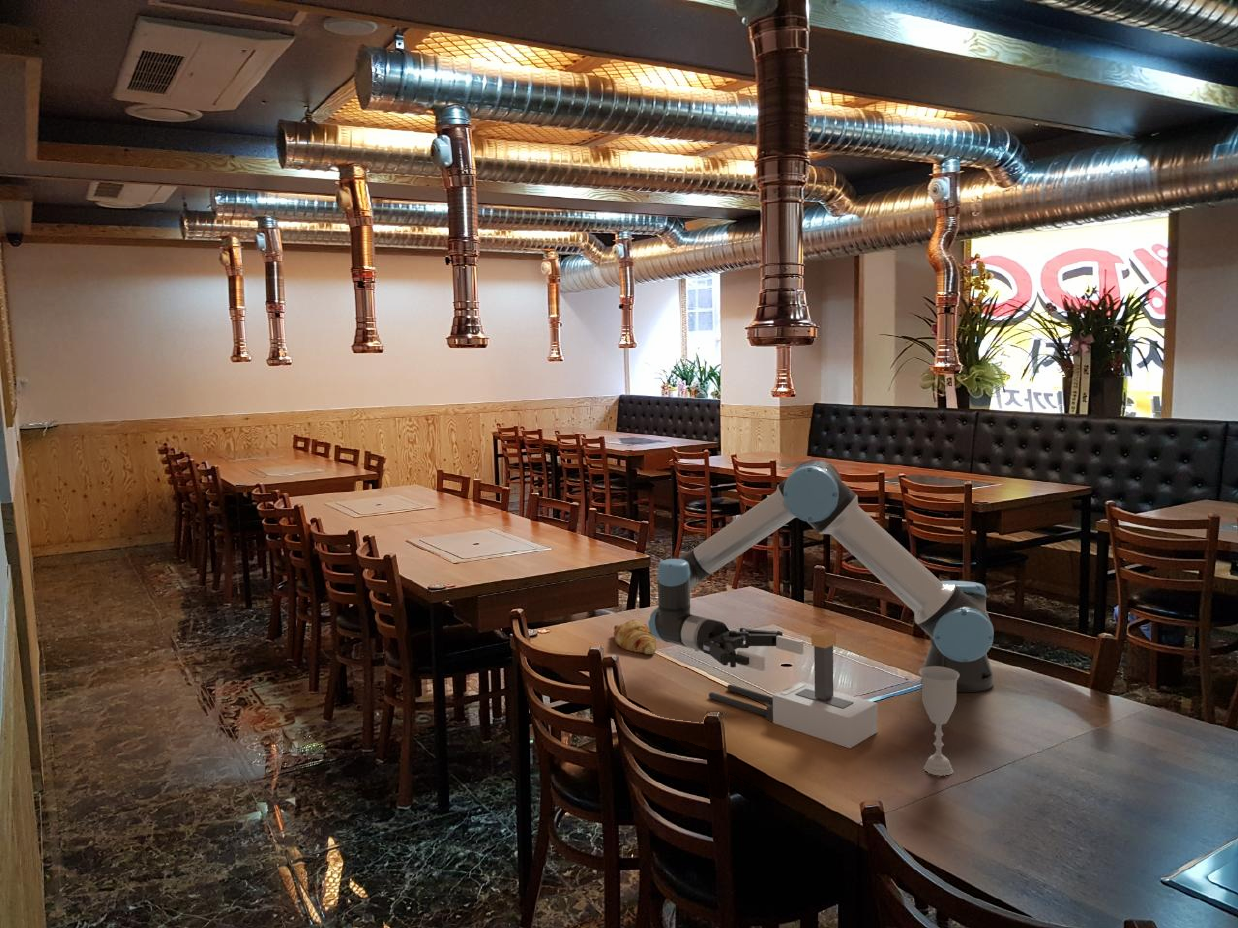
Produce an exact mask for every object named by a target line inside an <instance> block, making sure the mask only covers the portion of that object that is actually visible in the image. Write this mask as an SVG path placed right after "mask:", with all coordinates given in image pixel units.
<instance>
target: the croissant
mask: <svg viewBox="0 0 1238 928" xmlns="http://www.w3.org/2000/svg"><path fill="white" fill-rule="evenodd" d="M613 629H614V631H613V638H614V642H615V643H616V644H617V645H618V646H620V647H621V648H622V649H623V650H625V651H626V650H627V651H630V652H635V653H641V654H644V655H653V654H654V653H656V651H657V638H656V637H654V636H653V635H652V634H651V633H650V630H649V626H648V624H645V623H643V622H642V621H638V620H635V619H632V620H629V621H626V622H625V623H622V624H619V625H615V626H614V628H613Z"/></svg>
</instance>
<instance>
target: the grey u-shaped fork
mask: <svg viewBox="0 0 1238 928" xmlns="http://www.w3.org/2000/svg"><path fill="white" fill-rule="evenodd" d="M726 689H727V691H729V692H733V693H736V694H738V695H742V696H745V697H748V698H751V699H755V700H758V701H761V702H764V703H768V704H771V705H769V706H767V707H766V709H765V708H763V707H759V706H757V705H753V704H751V703H748V702H744V701H741V700H738V699H734V698H731V697H728V696H725V695H722V694H720V693H716V692H712V691H711V692H709V693H708V698H709V699H711V700H715V701H718V702H720V703H723V704H725V705H730V706H733V707H735V708H738V709H742V710H744V711H748V712H751V713H754V714H757V715H760V716H763V717H766V720H767V721H770V722H773V696H770V695H766V694H763V693H761V692H760V693H759V692H757V691H754V690H751V689H747V688H743V687H740V686H737V685H734V684H728V685H727V686H726Z"/></svg>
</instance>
